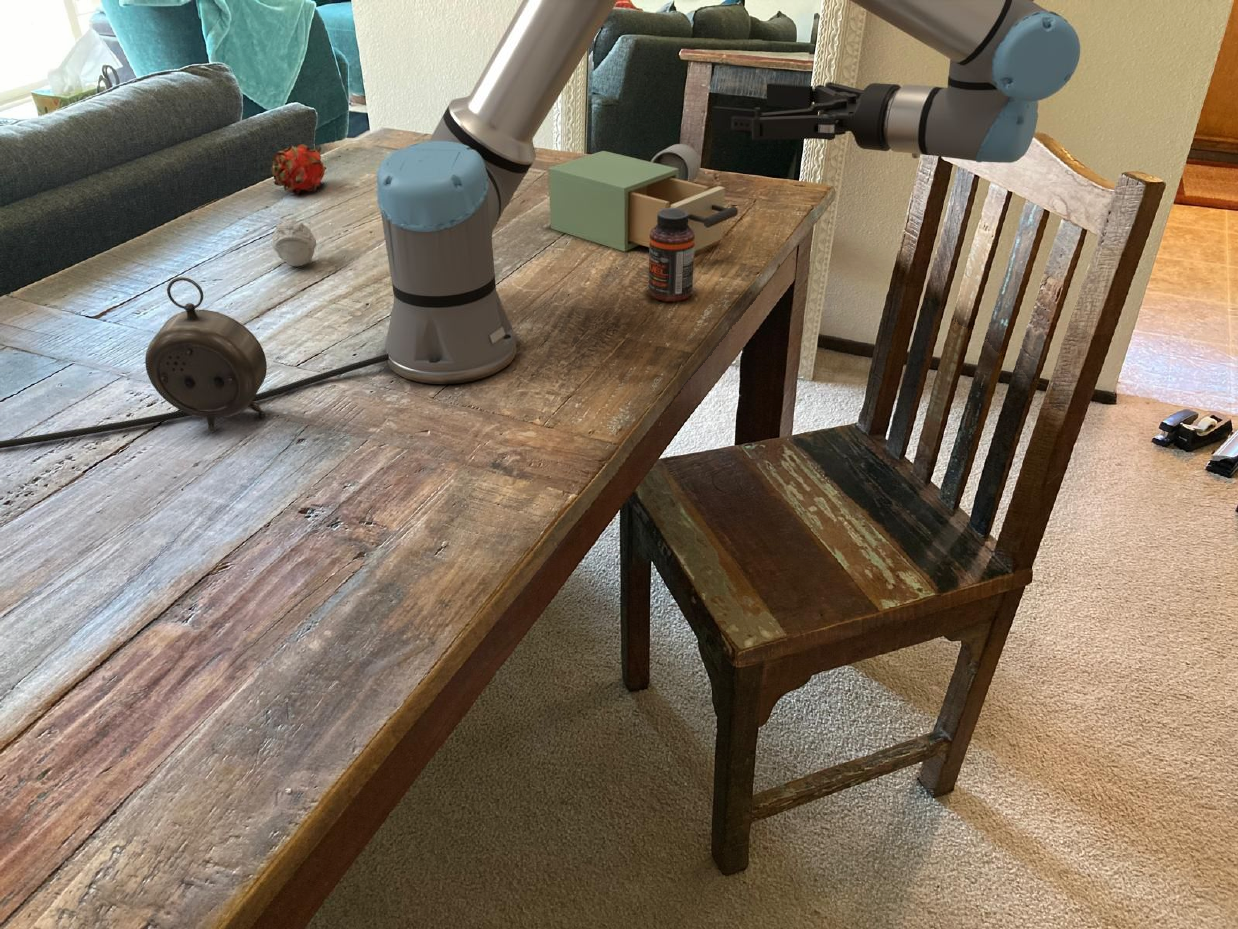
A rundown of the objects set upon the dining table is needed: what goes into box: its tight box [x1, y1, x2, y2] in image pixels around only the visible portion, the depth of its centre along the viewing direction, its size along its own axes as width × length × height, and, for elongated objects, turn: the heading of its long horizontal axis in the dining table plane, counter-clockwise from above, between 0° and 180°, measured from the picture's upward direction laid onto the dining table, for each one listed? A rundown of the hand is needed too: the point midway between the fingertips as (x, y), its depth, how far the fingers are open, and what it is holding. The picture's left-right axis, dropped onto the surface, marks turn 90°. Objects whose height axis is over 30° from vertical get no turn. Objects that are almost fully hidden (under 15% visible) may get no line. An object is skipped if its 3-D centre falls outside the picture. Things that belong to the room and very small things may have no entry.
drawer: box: [628, 177, 739, 252], centre depth 138 cm, size 19×11×8 cm, turn 49°
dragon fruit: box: [269, 143, 327, 195], centre depth 163 cm, size 8×8×12 cm
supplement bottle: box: [648, 208, 695, 303], centre depth 122 cm, size 6×6×11 cm
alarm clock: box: [144, 276, 268, 433], centre depth 94 cm, size 11×5×16 cm, turn 90°
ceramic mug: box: [650, 143, 701, 183], centre depth 162 cm, size 11×8×8 cm
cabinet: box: [547, 150, 679, 252], centre depth 144 cm, size 16×13×10 cm
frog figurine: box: [271, 218, 317, 267], centre depth 133 cm, size 6×7×7 cm
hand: (741, 105), depth 122 cm, fingers open, 13 cm apart
